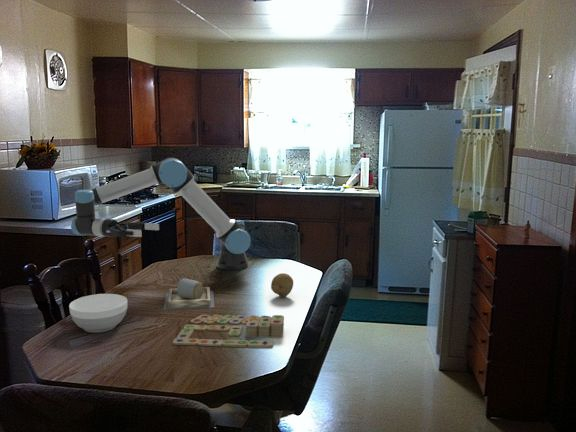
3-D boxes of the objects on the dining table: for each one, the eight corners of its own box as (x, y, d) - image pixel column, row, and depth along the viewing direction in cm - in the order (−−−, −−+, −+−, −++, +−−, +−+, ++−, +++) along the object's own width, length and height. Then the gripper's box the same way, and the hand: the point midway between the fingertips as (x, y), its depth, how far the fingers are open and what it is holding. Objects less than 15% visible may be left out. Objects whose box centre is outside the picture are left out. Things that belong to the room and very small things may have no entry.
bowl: (110, 339, 170) (109, 314, 168) (58, 334, 174) (56, 309, 172) (138, 319, 188) (137, 295, 187) (90, 314, 192) (89, 291, 190)
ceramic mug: (194, 302, 203) (194, 283, 202) (176, 299, 206) (176, 280, 205) (208, 294, 213) (208, 276, 212) (191, 292, 216) (190, 274, 215)
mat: (213, 291, 219) (213, 291, 219) (214, 308, 200) (214, 307, 200) (166, 293, 216) (166, 292, 216) (163, 310, 197) (163, 309, 197)
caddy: (209, 292, 217) (209, 287, 217) (210, 305, 202) (210, 299, 201) (170, 294, 214) (169, 288, 214) (167, 307, 199) (167, 301, 198)
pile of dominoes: (285, 318, 191) (285, 304, 190) (280, 350, 165) (280, 333, 164) (191, 316, 193) (191, 301, 192) (171, 346, 166) (171, 330, 165)
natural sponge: (280, 302, 207) (280, 278, 205) (266, 296, 214) (266, 273, 212) (297, 297, 213) (297, 274, 211) (283, 292, 219) (283, 269, 218)
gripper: (123, 230, 235) (165, 232, 229) (87, 242, 212) (133, 245, 206) (122, 214, 234) (164, 216, 228) (86, 224, 211) (132, 227, 205)
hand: (150, 230), depth 217 cm, fingers open, 13 cm apart
